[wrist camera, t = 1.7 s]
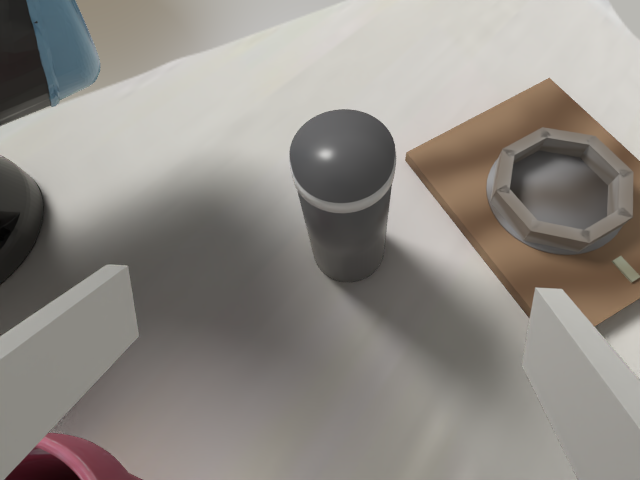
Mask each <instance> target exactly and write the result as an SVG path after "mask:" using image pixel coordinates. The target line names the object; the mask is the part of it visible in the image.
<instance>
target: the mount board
mask: <svg viewBox="0 0 640 480" xmlns="http://www.w3.org/2000/svg"><path fill="white" fill-rule="evenodd" d="M405 161H406V162H407V163H408V164H409V166H410V167H411V168H412V169H413V171H414V172H415V173H416V175H417V176H418V177H419V178H420V180H421V181H422V182H423V183H424V185H425V186H426V187H427V189H428V190H429V191H430V192H431V194H432V195H433V196H434V197H435V199H436V200H437V201H438V203H439V204H440V205H441V206H442V208H443V209H444V210H445V211H446V213H447V214H448V215H449V217H450V218H451V219H452V220H453V222H454V223H455V224H456V225H457V227H458V228H459V229H460V230H461V232H462V233H463V234H464V236H465V237H466V238H467V239H468V241H469V242H470V243H471V244H472V246H473V247H474V248H475V250H476V251H477V252H478V253H479V255H480V256H481V257H482V258H483V260H484V261H485V262H486V264H487V265H488V266H489V267H490V269H491V270H492V271H493V272H494V274H495V275H496V276H497V278H498V279H499V280H500V281H501V283H502V284H503V285H504V286H505V288H506V289H507V290H508V292H509V293H510V294H511V295H512V297H513V298H514V299H515V300H516V302H517V303H518V304H519V305H520V307H521V308H522V309H523V311H524V312H525V313H526V314H527V316H528V317H529V318H530V314H531V308H532V303H533V297H534V292H535V287H536V288H554V289H563V291H564V292H565V293H566V294H567V295H568V296H569V298H570V299H571V300H572V301H573V302H574V303H575V305H576V306H577V307H578V308H579V309H580V310H581V312H582V313H583V314H584V315H585V316H586V317H587V319H588V320H589V321H590V322H591V323H592V324H593V326H594V327H595V326H596V325H598V324H599V323H601V322H603V321H604V320H606V319H607V318H609V317H611V316H612V315H614V314H615V313H617V312H619V311H620V310H622V309H623V308H625V307H627V306H628V305H630V304H631V303H633V302H635V301H636V300H638V299H639V298H640V161H639V160H638V159H637V158H636V157H635V156H633V155H632V154H631V153H630V152H629V151H628V150H627V149H626V148H625V147H624V146H623V145H622V144H620V143H619V142H618V141H617V140H616V139H615V138H614V137H613V136H612V135H611V134H610V133H609V132H607V131H606V130H605V129H604V128H603V127H602V126H601V125H600V124H599V123H598V122H597V121H596V120H594V119H593V118H592V117H591V116H590V115H589V114H588V113H587V112H586V111H585V110H584V109H583V108H581V107H580V106H579V105H578V104H577V103H576V102H575V101H574V100H573V99H572V98H571V97H570V96H568V95H567V94H566V93H565V92H564V91H563V90H562V89H561V88H560V87H559V86H558V85H557V84H555V83H554V82H553V81H552V80H551V79H550V78H548V79H546V80H544V81H542V82H541V83H539V84H537V85H535V86H533V87H531V88H529V89H527V90H525V91H523V92H521V93H520V94H518V95H516V96H514V97H512V98H510V99H508V100H506V101H504V102H502V103H500V104H498V105H497V106H495V107H493V108H491V109H489V110H487V111H485V112H483V113H481V114H479V115H477V116H475V117H474V118H472V119H470V120H468V121H466V122H464V123H462V124H460V125H458V126H456V127H454V128H452V129H451V130H449V131H447V132H445V133H443V134H441V135H439V136H437V137H435V138H433V139H431V140H429V141H428V142H426V143H424V144H422V145H420V146H418V147H416V148H414V149H412V150H410V151H408V152H407V153H406V159H405Z"/></svg>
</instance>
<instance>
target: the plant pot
mask: <svg viewBox="0 0 640 480" xmlns="http://www.w3.org/2000/svg"><path fill="white" fill-rule="evenodd" d="M4 480H142V479H140V478H138V477H136V476H134V475H132V474H130V473H128V472H127V470H126V469H125V468H124V467H123V466H122V465H121V464H120V462H119V461H118V460H117V459H116V458H115V457H113V456H112V455H111V454H110V453H109V452H107V451H106V450H104V449H103V448H101V447H100V446H98V445H96V444H94V443H92V442H90V441H87V440H85V439H82V438H79V437H75V436H70V435H65V434H57V433H48V434H47V435H46V436H45V437H44V438H43V439H42V440H41V441H40V442H39V443H38V444H37V445H36V446H35V447H34V448H33V449H32V451H31V452H30V453H29V454H28V455H27V456H26V457H25V458H24V459H23V460H22V461H21V462H20V463H19V464H18V465H17V466H16V468H15V469H14V470H13V471H12V472H11V473H10V474H9V475H8V476H7V477H6V478H5V479H4Z"/></svg>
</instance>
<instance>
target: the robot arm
mask: <svg viewBox="0 0 640 480" xmlns="http://www.w3.org/2000/svg"><path fill="white" fill-rule="evenodd" d="M99 72H100V59H99V56H98V53H97V50H96V48H95V45H94V43H93V40H92V38H91V35H90V33H89V31H88V28H87V26H86V24H85V21H84V19H83V17H82V14H81V12H80V10H79V8H78V6H77V3H76V1H75V0H0V126H2V125H4V124H7V123H9V122H12V121H14V120H16V119H19V118H21V117H24V116H26V115H28V114H31V113H33V112H36V111H38V110H41V109H43V108H45V107H48V106H52V107H54V106H56V105H57V104H58V103H59V101H60V100H61V99H63V98H66V97H68V96H70V95H72V94H74V93H76V92H78V91H80V90H82V89H84V88H86V87H89V86H90V85H91V84H93V83H94V82H95V80H96V79H97V77H98V75H99ZM42 219H43V200H42V196H41V192H40V190H39V188H38V186H37V184H36V183H35V181H34V180H33V179H32V178H31V177H30V176H29V175H28V174H27V173H26V172H24V171H23V170H22V169H21V168H19V167H18V166H17V165H16V164H14V163H13V162H12V161H10V160H8V159H7V158H5V157H3V156H1V155H0V283H2V282H3V281H4V280H5V279H6V278H7V277H8V276H10V275H11V274H12V273H13V272H14V271H15V270H16V268H17V267H18V266H19V265H20V264H21V263H22V261H23V260H24V259H25V257H26V256H27V255H28V253H29V252H30V250H31V248H32V246H33V245H34V243H35V241H36V238H37V236H38V233H39V231H40V227H41V224H42ZM138 337H139V331H138V325H137V318H136V312H135V306H134V299H133V293H132V287H131V280H130V274H129V268H128V265H112V264H107V265H105V266H104V267H102V268H101V269H99V270H98V271H96V272H95V273H93V274H92V275H90V276H89V277H87V278H86V279H84V280H83V281H81V282H80V283H78V284H77V285H76V286H74V287H73V288H71V289H70V290H68V291H67V292H65V293H64V294H62V295H61V296H59V297H58V298H56V299H55V300H53V301H52V302H50V303H49V304H47V305H46V306H44V307H43V308H41V309H40V310H39V311H37V312H36V313H34V314H33V315H31V316H30V317H28V318H27V319H25V320H24V321H22V322H21V323H19V324H18V325H16V326H15V327H13V328H12V329H10V330H9V331H7V332H6V333H4V334H3V335H1V336H0V480H4V479H5V478H6V477H7V476H8V475H9V474H10V473H11V472H12V471H13V470H14V469H15V468H16V466H17V465H18V464H19V463H20V462H21V461H22V460H23V459H24V458H25V457H26V456H27V455H28V454H29V453H30V452H31V451H32V449H33V448H34V447H35V446H36V445H37V444H38V443H39V442H40V441H41V440H42V439H43V438H44V437H45V436H46V435H47V434H48V432H49V431H50V430H51V429H52V428H53V427H54V426H55V425H56V424H57V423H58V422H59V421H60V420H61V419H62V418H63V417H64V415H65V414H66V413H67V412H68V411H69V410H70V409H71V408H72V407H73V406H74V405H75V404H76V403H77V402H78V401H79V400H80V398H81V397H82V396H83V395H84V394H85V393H86V392H87V391H88V390H89V389H90V388H91V387H92V386H93V385H94V384H95V383H96V381H97V380H98V379H99V378H100V377H101V376H102V375H103V374H104V373H105V372H106V371H107V370H108V369H109V368H110V367H111V366H112V365H113V363H114V362H115V361H116V360H117V359H118V358H119V357H120V356H121V355H122V354H123V353H124V352H125V351H126V350H127V349H128V348H129V346H130V345H131V344H132V343H133V342H134V341H135V340H136V339H137V338H138ZM521 365H522V367H523V369H524V371H525V373H526V375H527V377H528V379H529V381H530V383H531V385H532V387H533V389H534V391H535V393H536V395H537V398H538V400H539V402H540V404H541V406H542V408H543V410H544V412H545V414H546V416H547V418H548V420H549V422H550V424H551V426H552V428H553V430H554V432H555V434H556V436H557V438H558V440H559V442H560V445H561V447H562V449H563V451H564V453H565V455H566V457H567V459H568V461H569V463H570V465H571V467H572V469H573V471H574V473H575V475H576V477H577V479H578V480H640V379H639V378H638V377H637V376H636V374H635V373H634V372H633V371H632V370H631V369H630V367H629V366H628V365H627V364H626V363H625V362H624V361H623V359H622V358H621V357H620V356H619V355H618V354H617V352H616V351H615V350H614V349H613V348H612V347H611V345H610V344H609V343H608V342H607V341H606V340H605V338H604V337H603V336H602V335H601V334H600V333H599V331H598V330H597V329H596V328H595V327H594V326H593V324H592V323H591V322H590V321H589V320H588V319H587V317H586V316H585V315H584V314H583V313H582V312H581V310H580V309H579V308H578V307H577V306H576V305H575V303H574V302H573V301H572V300H571V299H570V298H569V296H568V295H567V294H566V293H565V292H564V291H563V289H554V288H536V287H535V292H534V297H533V303H532V308H531V314H530V319H529V325H528V330H527V336H526V341H525V347H524V352H523V358H522V363H521Z"/></svg>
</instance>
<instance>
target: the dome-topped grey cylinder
mask: <svg viewBox="0 0 640 480" xmlns="http://www.w3.org/2000/svg"><path fill="white" fill-rule="evenodd" d="M395 166H396V152H395V144H394V141H393V138H392V136H391V134H390V132H389V130H388V129H387V128H386V127H385V125H384V124H383V123H381V122H380V121H379V120H378V119H376V118H375V117H373V116H371V115H369V114H366V113H364V112H360V111H356V110H345V109H342V110H333V111H328V112H325V113H322V114H320V115H317V116H316V117H314V118H312V119H310V120H309V121H308V122H306V123H305V124H304V125H303V126H302V127H301V128H300V129H299V130H298V132H297V133H296V135H295V136H294V139H293V141H292V144H291V147H290V169H291V174H292V178H293V181H294V184H295V187H296V189H297V191H298V195H299V199H300V203H301V207H302V211H303V215H304V219H305V223H306V226H307V230H308V234H309V238H310V242H311V246H312V250H313V254H314V258H315V261H316V263H317V265H318V267H319V268H320V270H321V271H322V272H323V273H324V274H326V275H327V276H329V277H330V278H332V279H334V280H337V281H341V282H355V281H359V280H362V279H365V278H367V277H368V276H370V275H371V274H372V273H374V272H375V270H376V269H377V268H378V267H379V265H380V263H381V261H382V258H383V254H384V246H385V238H386V229H387V220H388V212H389V203H390V194H391V186H392V182H393V179H394V174H395Z"/></svg>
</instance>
